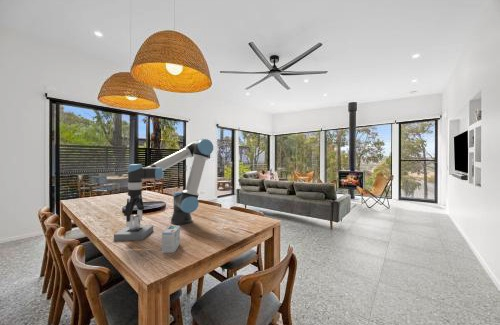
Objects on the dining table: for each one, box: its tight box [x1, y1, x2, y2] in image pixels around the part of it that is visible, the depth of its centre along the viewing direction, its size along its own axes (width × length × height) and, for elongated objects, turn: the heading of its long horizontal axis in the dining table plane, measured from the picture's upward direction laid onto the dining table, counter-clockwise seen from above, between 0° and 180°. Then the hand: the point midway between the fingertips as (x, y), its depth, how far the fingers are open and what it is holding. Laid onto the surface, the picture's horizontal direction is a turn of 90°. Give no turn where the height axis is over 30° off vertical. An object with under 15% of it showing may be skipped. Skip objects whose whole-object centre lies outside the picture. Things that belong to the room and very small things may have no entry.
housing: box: [113, 224, 154, 241], centre depth 128 cm, size 16×16×4 cm
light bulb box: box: [161, 225, 181, 254], centre depth 111 cm, size 11×7×11 cm, turn 5°
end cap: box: [129, 214, 141, 232], centre depth 128 cm, size 6×6×12 cm
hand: (134, 223), depth 128 cm, fingers open, 13 cm apart
